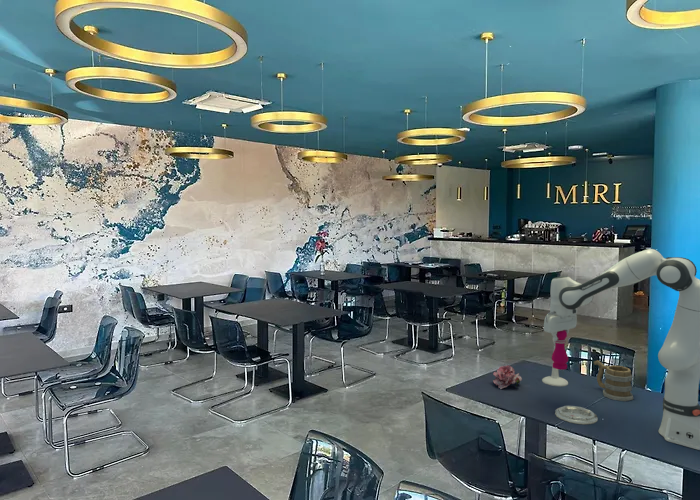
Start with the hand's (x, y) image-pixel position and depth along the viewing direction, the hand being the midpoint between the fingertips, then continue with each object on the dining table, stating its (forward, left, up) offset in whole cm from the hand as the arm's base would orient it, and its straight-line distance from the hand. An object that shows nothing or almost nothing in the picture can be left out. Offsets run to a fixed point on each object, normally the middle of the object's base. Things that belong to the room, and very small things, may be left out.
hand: (560, 339), depth 228 cm
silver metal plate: (-13, +7, -31) cm, 34 cm away
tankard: (-6, -33, -31) cm, 46 cm away
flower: (+30, +1, -31) cm, 43 cm away
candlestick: (+20, -25, -31) cm, 45 cm away
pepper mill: (0, 0, -14) cm, 14 cm away
